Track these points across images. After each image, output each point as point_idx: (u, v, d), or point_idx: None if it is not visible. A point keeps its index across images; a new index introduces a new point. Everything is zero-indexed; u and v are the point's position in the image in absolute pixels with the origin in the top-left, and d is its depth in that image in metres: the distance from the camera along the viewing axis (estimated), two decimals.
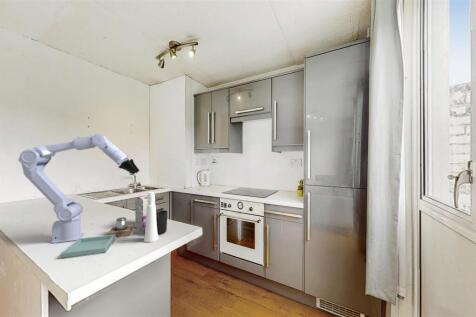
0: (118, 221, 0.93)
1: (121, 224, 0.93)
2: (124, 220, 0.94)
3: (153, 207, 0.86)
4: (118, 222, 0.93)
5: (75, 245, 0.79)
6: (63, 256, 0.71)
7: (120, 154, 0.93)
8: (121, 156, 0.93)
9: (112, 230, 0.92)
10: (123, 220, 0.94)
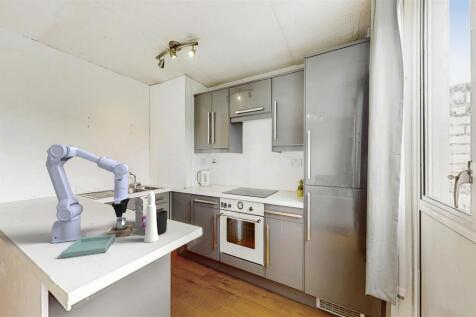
0: (118, 221, 0.93)
1: (121, 224, 0.93)
2: (124, 220, 0.94)
3: (153, 207, 0.86)
4: (118, 222, 0.93)
5: (75, 245, 0.79)
6: (63, 256, 0.71)
7: (124, 193, 0.93)
8: (123, 195, 0.93)
9: (112, 230, 0.92)
10: (123, 220, 0.94)
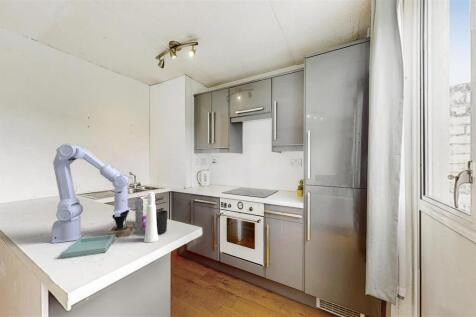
0: None
1: None
2: (124, 220, 0.94)
3: (153, 207, 0.86)
4: None
5: (75, 245, 0.79)
6: (63, 256, 0.71)
7: (124, 205, 0.93)
8: (123, 207, 0.93)
9: (112, 230, 0.92)
10: None
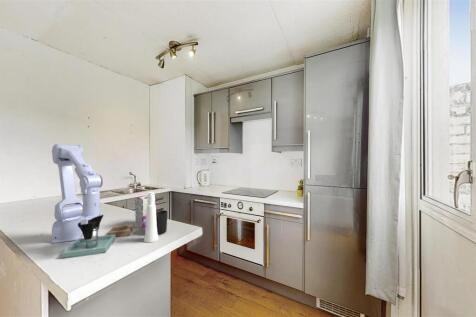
0: None
1: (92, 235, 0.78)
2: (96, 230, 0.80)
3: (153, 207, 0.86)
4: None
5: (75, 245, 0.79)
6: (63, 256, 0.71)
7: (94, 210, 0.78)
8: (93, 212, 0.78)
9: (112, 230, 0.92)
10: (94, 230, 0.79)
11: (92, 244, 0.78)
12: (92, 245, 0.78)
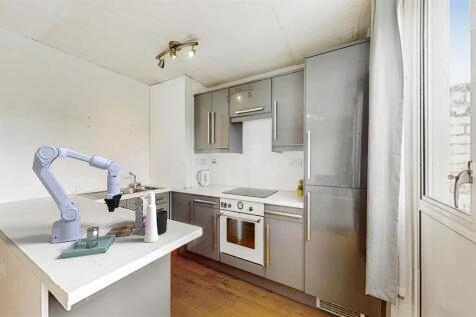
0: (89, 231, 0.78)
1: (93, 235, 0.79)
2: (97, 230, 0.80)
3: (153, 207, 0.86)
4: (89, 233, 0.78)
5: (75, 245, 0.79)
6: (63, 256, 0.71)
7: (116, 189, 0.98)
8: (115, 191, 0.98)
9: (112, 230, 0.92)
10: (96, 230, 0.79)
11: (93, 243, 0.78)
12: (92, 245, 0.78)
